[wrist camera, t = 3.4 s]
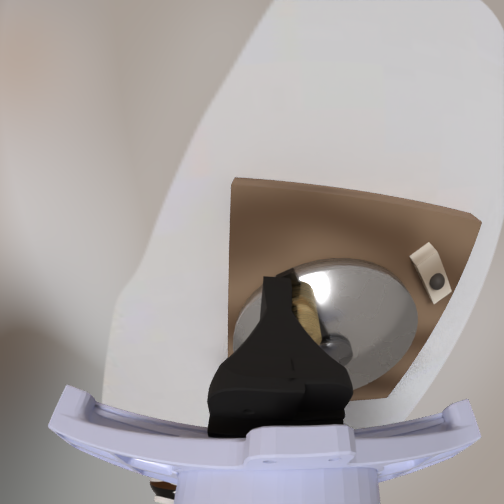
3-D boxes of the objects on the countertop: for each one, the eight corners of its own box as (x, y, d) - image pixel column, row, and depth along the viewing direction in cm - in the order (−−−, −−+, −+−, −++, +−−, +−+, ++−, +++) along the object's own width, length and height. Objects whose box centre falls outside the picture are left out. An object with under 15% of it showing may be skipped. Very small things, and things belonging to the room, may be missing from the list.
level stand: (383, 386, 25) (390, 412, 22) (229, 384, 25) (225, 413, 22) (470, 213, 15) (497, 234, 12) (234, 177, 15) (225, 196, 12)
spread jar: (170, 464, 47) (161, 504, 37) (141, 446, 42) (128, 491, 32) (215, 468, 44) (209, 513, 34) (188, 452, 39) (178, 504, 29)
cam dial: (418, 351, 19) (435, 395, 15) (282, 398, 23) (281, 442, 19) (389, 211, 13) (428, 255, 9) (191, 298, 17) (171, 354, 13)
